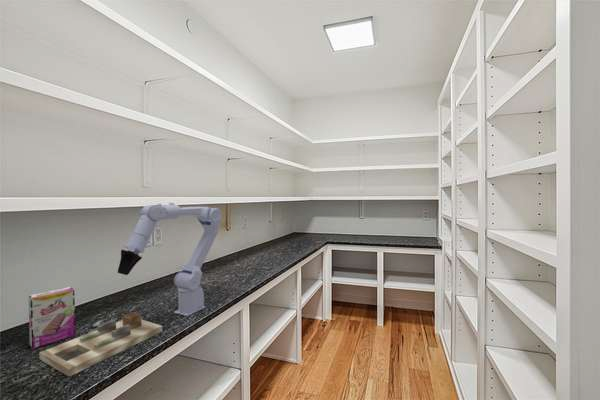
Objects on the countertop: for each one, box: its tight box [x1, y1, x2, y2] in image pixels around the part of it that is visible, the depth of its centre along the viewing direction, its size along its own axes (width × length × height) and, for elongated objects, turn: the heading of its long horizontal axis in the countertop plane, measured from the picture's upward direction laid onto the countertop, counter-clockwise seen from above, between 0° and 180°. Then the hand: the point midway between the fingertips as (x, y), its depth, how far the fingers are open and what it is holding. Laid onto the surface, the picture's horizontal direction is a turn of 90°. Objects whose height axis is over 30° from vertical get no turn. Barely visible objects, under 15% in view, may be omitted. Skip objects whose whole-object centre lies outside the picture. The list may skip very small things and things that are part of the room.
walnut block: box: [122, 311, 142, 330], centre depth 97 cm, size 4×4×4 cm
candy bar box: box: [28, 286, 76, 350], centre depth 93 cm, size 11×5×16 cm, turn 141°
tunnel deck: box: [38, 318, 163, 377], centre depth 90 cm, size 27×18×5 cm, turn 151°
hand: (122, 274), depth 94 cm, fingers open, 7 cm apart
